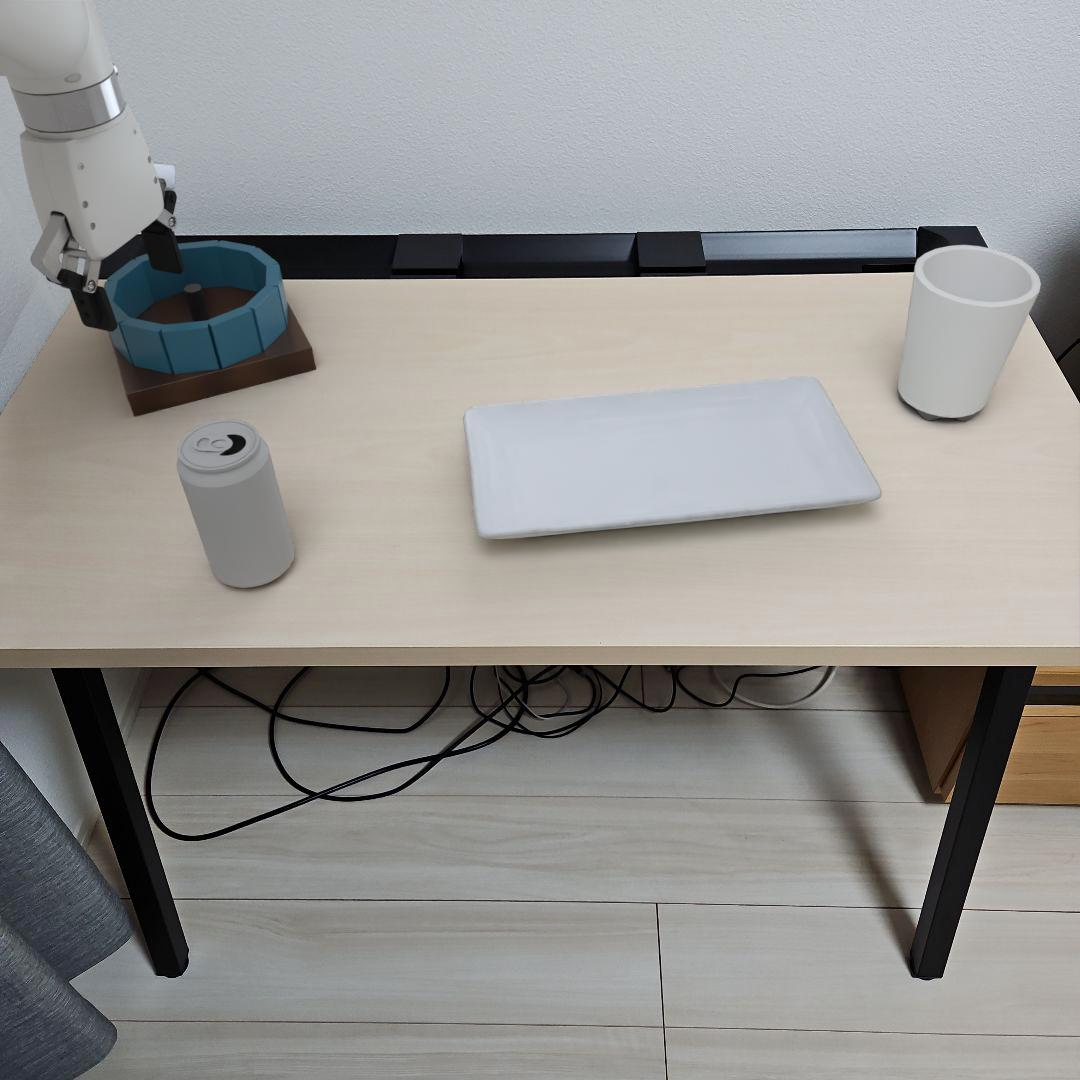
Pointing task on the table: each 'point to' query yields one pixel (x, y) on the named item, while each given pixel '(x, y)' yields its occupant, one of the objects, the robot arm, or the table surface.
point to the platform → (174, 389)
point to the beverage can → (235, 502)
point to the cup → (962, 327)
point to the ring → (201, 339)
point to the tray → (660, 458)
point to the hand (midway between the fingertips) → (136, 297)
